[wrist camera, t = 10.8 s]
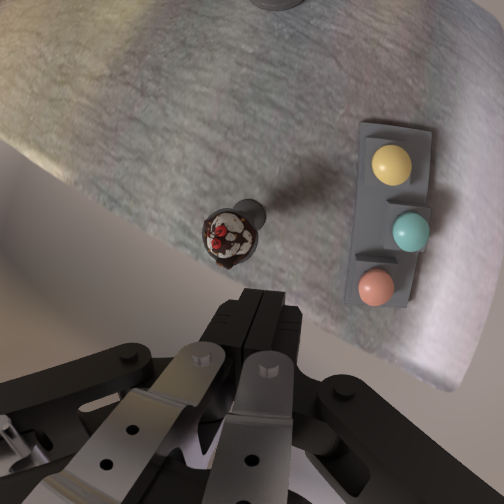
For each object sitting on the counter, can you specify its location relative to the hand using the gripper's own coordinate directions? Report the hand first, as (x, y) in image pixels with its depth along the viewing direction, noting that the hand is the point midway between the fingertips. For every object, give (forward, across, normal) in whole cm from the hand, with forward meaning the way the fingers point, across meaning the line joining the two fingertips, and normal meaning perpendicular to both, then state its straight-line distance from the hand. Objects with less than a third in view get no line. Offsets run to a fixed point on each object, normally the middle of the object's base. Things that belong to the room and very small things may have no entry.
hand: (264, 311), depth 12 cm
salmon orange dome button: (+31, -11, +12) cm, 35 cm away
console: (+33, -12, +4) cm, 35 cm away
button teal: (+31, -14, +4) cm, 34 cm away
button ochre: (+31, -11, -4) cm, 33 cm away
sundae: (+33, +8, +5) cm, 35 cm away
